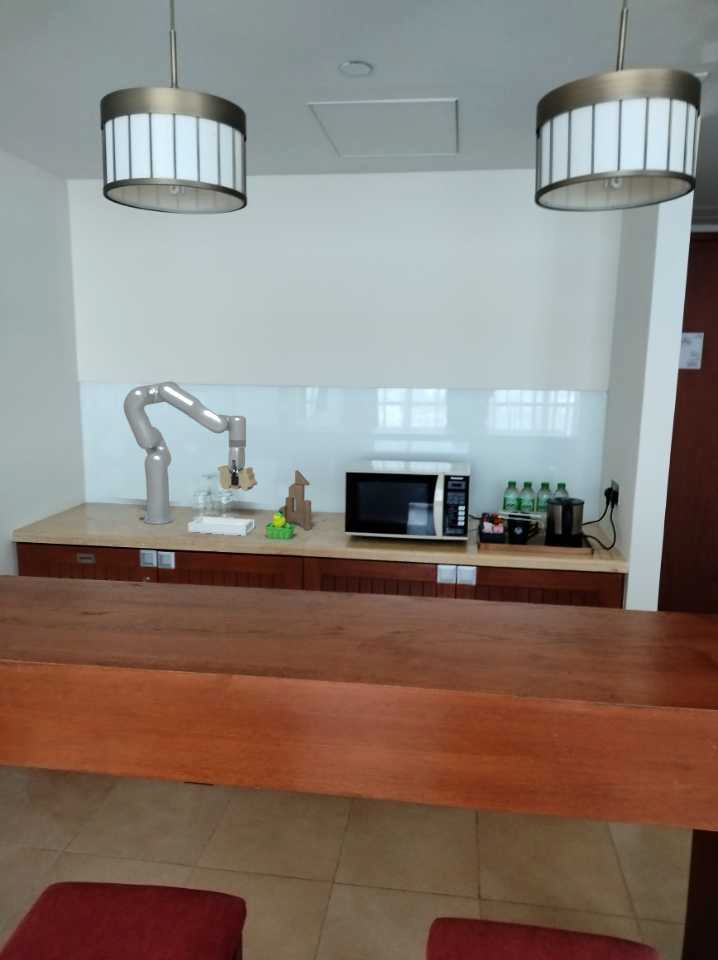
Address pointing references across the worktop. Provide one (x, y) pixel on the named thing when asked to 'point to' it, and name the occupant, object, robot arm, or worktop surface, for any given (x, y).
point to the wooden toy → (297, 503)
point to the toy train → (244, 478)
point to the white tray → (222, 525)
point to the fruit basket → (279, 528)
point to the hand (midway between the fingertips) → (237, 483)
